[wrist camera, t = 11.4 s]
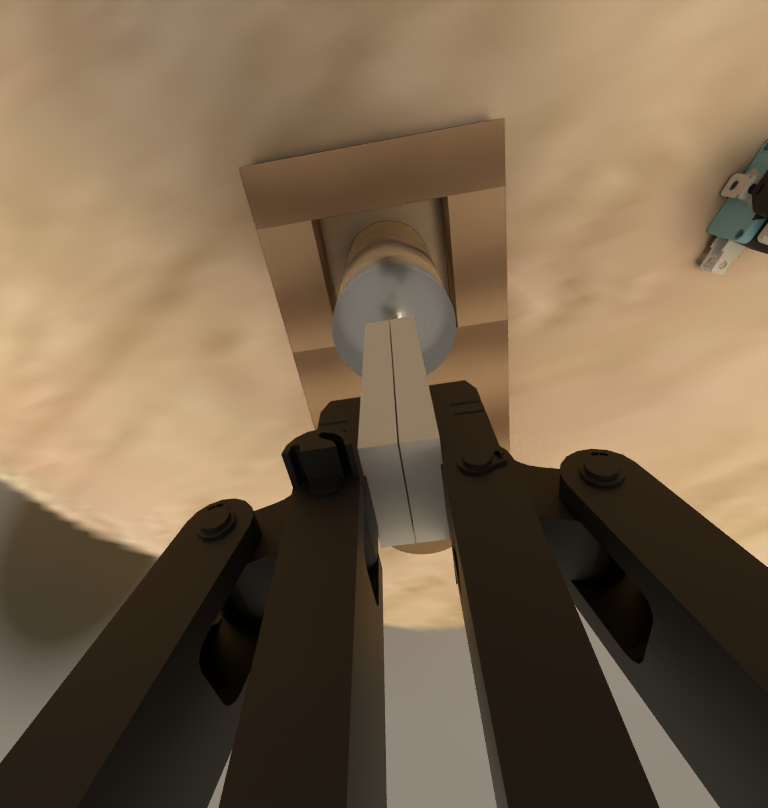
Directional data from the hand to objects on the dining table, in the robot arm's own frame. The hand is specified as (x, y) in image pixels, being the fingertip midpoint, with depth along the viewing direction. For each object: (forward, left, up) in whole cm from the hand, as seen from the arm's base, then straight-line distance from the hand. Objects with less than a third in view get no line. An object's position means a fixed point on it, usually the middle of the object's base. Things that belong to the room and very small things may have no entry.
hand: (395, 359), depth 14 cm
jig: (+5, 0, -12) cm, 13 cm away
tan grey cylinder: (0, 0, -12) cm, 12 cm away
